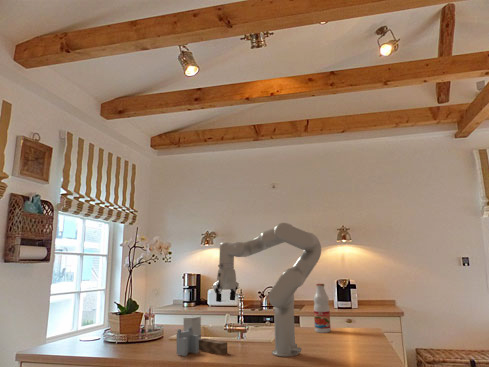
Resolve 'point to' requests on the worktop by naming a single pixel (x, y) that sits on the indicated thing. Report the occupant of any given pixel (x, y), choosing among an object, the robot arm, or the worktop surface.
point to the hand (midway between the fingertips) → (225, 300)
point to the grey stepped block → (187, 342)
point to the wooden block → (213, 346)
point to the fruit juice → (321, 310)
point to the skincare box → (193, 325)
